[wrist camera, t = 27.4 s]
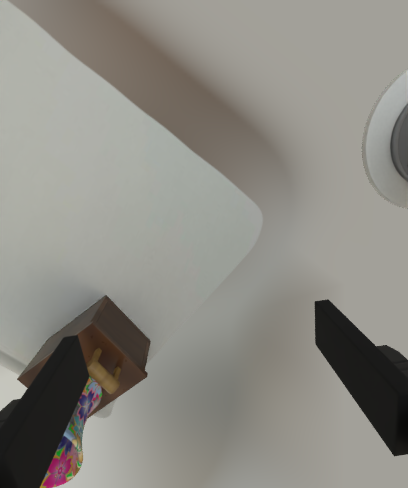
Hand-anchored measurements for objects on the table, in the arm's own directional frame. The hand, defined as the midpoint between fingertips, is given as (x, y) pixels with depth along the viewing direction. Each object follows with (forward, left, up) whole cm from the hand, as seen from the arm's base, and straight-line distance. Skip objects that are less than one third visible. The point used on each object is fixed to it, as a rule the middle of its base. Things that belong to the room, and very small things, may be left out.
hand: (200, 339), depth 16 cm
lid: (+19, +19, -23) cm, 35 cm away
